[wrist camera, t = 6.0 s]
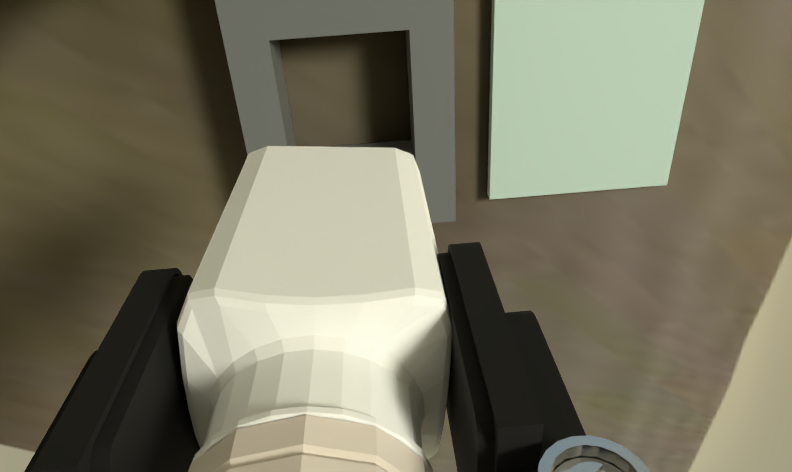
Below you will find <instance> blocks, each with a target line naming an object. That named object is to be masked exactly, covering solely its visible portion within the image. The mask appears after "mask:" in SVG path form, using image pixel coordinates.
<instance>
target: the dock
mask: <svg viewBox="0 0 792 472" xmlns="http://www.w3.org/2000/svg"><path fill="white" fill-rule="evenodd" d="M215 5H216V9H217V14H218V19H219V23H220V28H221V33H222V38H223V42H224V47H225V52H226V56H227V61H228V66H229V71H230V75H231V80H232V85H233V89H234V94H235V99H236V104H237V108H238V113H239V118H240V122H241V127H242V132H243V137H244V141H245V146H246V151H247V155H248V154H249V153H251V152H253V151H256V150H259V149H261V148H264V147H266V146H296V142H295V136H294V130H293V124H292V118H291V112H290V106H289V99H288V93H287V87H286V81H285V75H284V69H283V63H282V57H281V50H280V44H279V40H283V39H296V38H309V37H322V36H335V35H348V34H361V33H374V32H387V31H400V30H405V31H406V50H407V69H408V89H409V108H410V128H411V140H403V141H391V142H378V143H366V144H353V145H341V146H328V147H381V148H397V149H399V150H402V151H405V152H408V153H410V154H412V155H413V156H414V158H415V161H416V164H417V166H418V169H419V171H420V175H421V179H422V184H423V188H424V193H425V197H426V202H427V206H428V210H429V215H430V219H431V223H438V222H450V221H456V199H455V90H454V0H215Z"/></svg>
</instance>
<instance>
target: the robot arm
mask: <svg viewBox="0 0 792 472" xmlns="http://www.w3.org/2000/svg"><path fill="white" fill-rule="evenodd" d="M437 257H438V261H439V265H440V270H441V274H442V279H443V283H444V288H445V292H446V297H447V301H448V305H449V310H450V318H451V326H452V349H451V366H450V376H449V387H448V397H447V404H446V408H447V414H448V419H449V425H450V431H451V436H452V442H453V448H454V453H455V459H456V465H457V471H458V472H650V470H649V469H648V468H647V467H646V465H645V464H644V463H643V462H642V461H641V459H640V458H638V457H637V456H636V455H634V454H633V453H632V452H630V451H629V450H628V449H626V448H625V447H623V446H621V445H619V444H617V443H614V442H612V441H610V440H608V439H604V438H599V437H594V436H586V434H585V432H584V430H583V427H582V425H581V423H580V420H579V418H578V415H577V413H576V411H575V408H574V406H573V404H572V401H571V399H570V397H569V394H568V392H567V389H566V387H565V385H564V382H563V380H562V378H561V375H560V373H559V371H558V368H557V366H556V363H555V361H554V359H553V356H552V354H551V352H550V349H549V347H548V345H547V342H546V340H545V337H544V335H543V333H542V330H541V328H540V326H539V323H538V321H537V319H536V317H535V315H534V313H533V312H531V311H521V312H509V313H505V312H504V309H503V306H502V303H501V300H500V298H499V295H498V292H497V289H496V286H495V283H494V281H493V278H492V275H491V272H490V269H489V266H488V264H487V261H486V258H485V255H484V252H483V249H482V247H481V244H480V243H479V242H474V243H462V244H450V245H449V246H448V253H439V254H438V255H437ZM192 282H193V279H192V277H191V276H189V275H182V273H181V271H180V270H179V269H177V268H170V269H159V270H147V271H143V272H142V273H141V274H140V276H139V277H138V279H137V281H136V283H135V285H134V286H133V288H132V290H131V292H130V293H129V295H128V297H127V299H126V301H125V302H124V304H123V306H122V308H121V310H120V311H119V313H118V315H117V317H116V318H115V320H114V322H113V324H112V326H111V327H110V329H109V331H108V333H107V334H106V336H105V338H104V340H103V342H102V343H101V345H100V347H99V349H98V350H97V351H95V352H94V353H93V354H92V355H91V357H90V358H89V359H88V361H87V363H86V364H85V366H84V368H83V370H82V371H81V373H80V375H79V377H78V378H77V380H76V382H75V384H74V386H73V387H72V389H71V391H70V393H69V394H68V396H67V398H66V400H65V401H64V403H63V405H62V407H61V408H60V410H59V412H58V414H57V415H56V417H55V419H54V421H53V422H52V424H51V426H50V428H49V429H48V431H47V433H46V435H45V436H44V438H43V440H42V442H41V443H40V445H39V447H38V449H37V450H36V452H35V454H34V456H33V457H32V459H31V461H30V463H29V465H28V466H27V468H26V470H25V472H188V470H189V468H190V465H191V463H192V460H193V458H194V456H195V454H196V453H197V452H198V451H199V450H200V446H199V444H198V441H197V439H196V436H195V432H194V429H193V425H192V421H191V417H190V413H189V409H188V404H187V398H186V393H185V387H184V382H183V376H182V368H181V359H180V350H179V341H178V332H177V321H178V318H179V316H180V313H181V310H182V307H183V304H184V302H185V299H186V296H187V293H188V291H189V289H190V286H191V284H192Z"/></svg>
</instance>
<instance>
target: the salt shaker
mask: <svg viewBox="0 0 792 472" xmlns="http://www.w3.org/2000/svg"><path fill="white" fill-rule="evenodd" d="M437 255H438V250H437V246H436V241H435V237H434V233H433V228H432V224H431V219H430V215H429V210H428V206H427V202H426V197H425V193H424V188H423V184H422V179H421V175H420V171H419V169H418V166H417V164H416V161H415V158H414V156H413V155H412V154H410V153H408V152H405V151H402V150H399V149H397V148H381V147H308V146H266V147H264V148H261V149H259V150H256V151H253V152H251V153H249V154H248V156H247V159H246V161H245V163H244V165H243V168H242V170H241V172H240V175H239V177H238V179H237V181H236V184H235V186H234V188H233V191H232V193H231V195H230V197H229V200H228V202H227V204H226V206H225V209H224V211H223V213H222V216H221V218H220V220H219V222H218V225H217V227H216V229H215V232H214V234H213V236H212V238H211V241H210V243H209V245H208V248H207V250H206V252H205V254H204V257H203V259H202V261H201V264H200V266H199V268H198V270H197V273H196V275H195V277H194V280H193V282H192V284H191V286H190V289H189V291H188V293H187V296H186V299H185V302H184V304H183V307H182V310H181V313H180V316H179V318H178V321H177V332H178V341H179V350H180V359H181V368H182V376H183V382H184V387H185V393H186V398H187V404H188V409H189V413H190V417H191V421H192V425H193V429H194V432H195V436H196V439H197V441H198V444H199V446H200V450H199V451H198V452H197V453H196V454H195V456H194V458H193V460H192V463H191V465H190V468H189V470H188V472H433V470H432V467H431V465H430V463H429V462H428V459H429V458H431V457H432V456H433V455H435V454H436V453H437V452H438V449H439V444H440V440H441V435H442V430H443V424H444V418H445V411H446V404H447V397H448V387H449V376H450V366H451V349H452V326H451V318H450V310H449V305H448V301H447V297H446V292H445V288H444V283H443V279H442V274H441V270H440V265H439V261H438V257H437Z"/></svg>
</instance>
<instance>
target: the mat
mask: <svg viewBox="0 0 792 472" xmlns="http://www.w3.org/2000/svg"><path fill="white" fill-rule="evenodd" d="M704 1H705V0H492V14H491V57H490V100H489V143H488V186H487V195H488V197H489V199H501V198H513V197H525V196H538V195H550V194H562V193H574V192H586V191H598V190H610V189H622V188H635V187H647V186H659V185H667V182H668V177H669V172H670V167H671V162H672V157H673V152H674V148H675V143H676V138H677V133H678V128H679V123H680V118H681V113H682V108H683V103H684V99H685V94H686V89H687V84H688V79H689V74H690V69H691V64H692V59H693V54H694V50H695V45H696V40H697V35H698V30H699V25H700V20H701V15H702V10H703V5H704Z"/></svg>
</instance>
